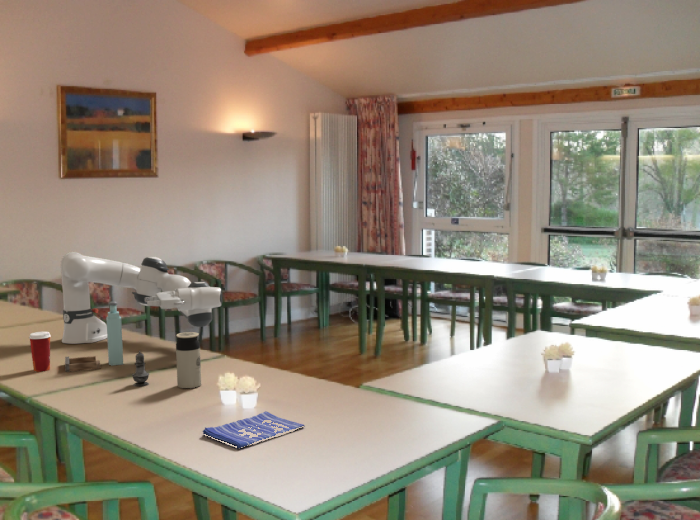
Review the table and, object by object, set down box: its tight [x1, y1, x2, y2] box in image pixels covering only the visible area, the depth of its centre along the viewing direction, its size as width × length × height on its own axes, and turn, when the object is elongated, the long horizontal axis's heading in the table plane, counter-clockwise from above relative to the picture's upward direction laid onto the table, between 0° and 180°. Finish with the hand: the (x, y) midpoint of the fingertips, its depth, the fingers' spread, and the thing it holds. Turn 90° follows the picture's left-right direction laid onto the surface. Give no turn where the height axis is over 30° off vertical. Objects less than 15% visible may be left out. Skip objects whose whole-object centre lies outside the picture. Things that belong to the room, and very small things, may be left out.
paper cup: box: [28, 331, 52, 373], centre depth 280 cm, size 8×8×14 cm
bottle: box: [105, 301, 124, 366], centre depth 288 cm, size 5×5×24 cm
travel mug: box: [175, 331, 202, 389], centre depth 256 cm, size 8×8×18 cm
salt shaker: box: [131, 350, 150, 388], centre depth 259 cm, size 6×6×12 cm
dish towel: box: [201, 410, 306, 448], centre depth 209 cm, size 17×24×3 cm
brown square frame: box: [64, 355, 101, 373], centre depth 285 cm, size 12×12×3 cm
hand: (146, 301), depth 291 cm, fingers open, 8 cm apart
